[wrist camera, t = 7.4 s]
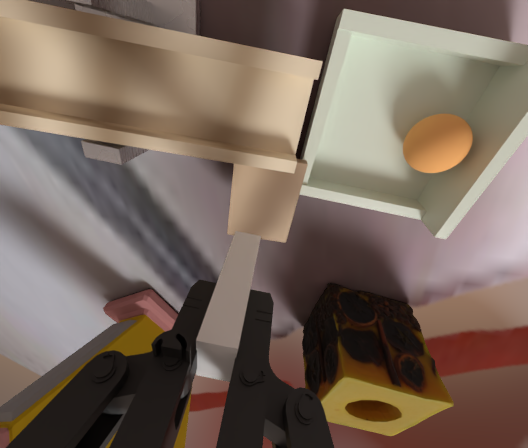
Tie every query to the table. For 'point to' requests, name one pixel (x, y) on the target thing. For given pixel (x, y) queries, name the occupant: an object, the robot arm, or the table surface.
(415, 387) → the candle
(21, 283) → the table surface
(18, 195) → the table surface
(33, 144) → the table surface
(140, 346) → the pink yellow-faced device
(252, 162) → the beige piece
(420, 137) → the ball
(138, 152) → the fulcrum
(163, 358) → the robot arm
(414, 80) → the tray
